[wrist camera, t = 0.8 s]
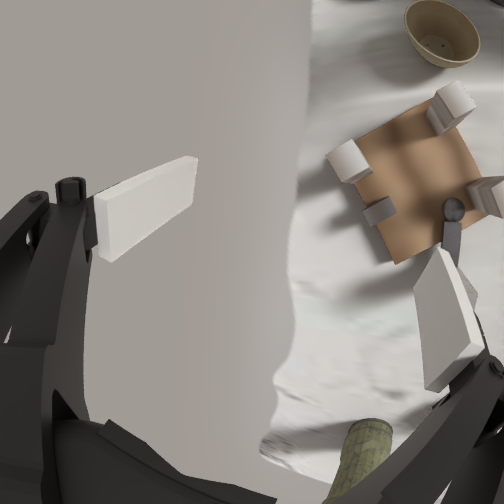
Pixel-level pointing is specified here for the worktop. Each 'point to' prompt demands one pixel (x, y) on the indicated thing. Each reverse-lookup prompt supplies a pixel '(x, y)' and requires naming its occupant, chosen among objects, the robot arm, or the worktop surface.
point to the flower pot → (441, 33)
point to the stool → (418, 173)
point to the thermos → (361, 454)
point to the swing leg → (455, 240)
